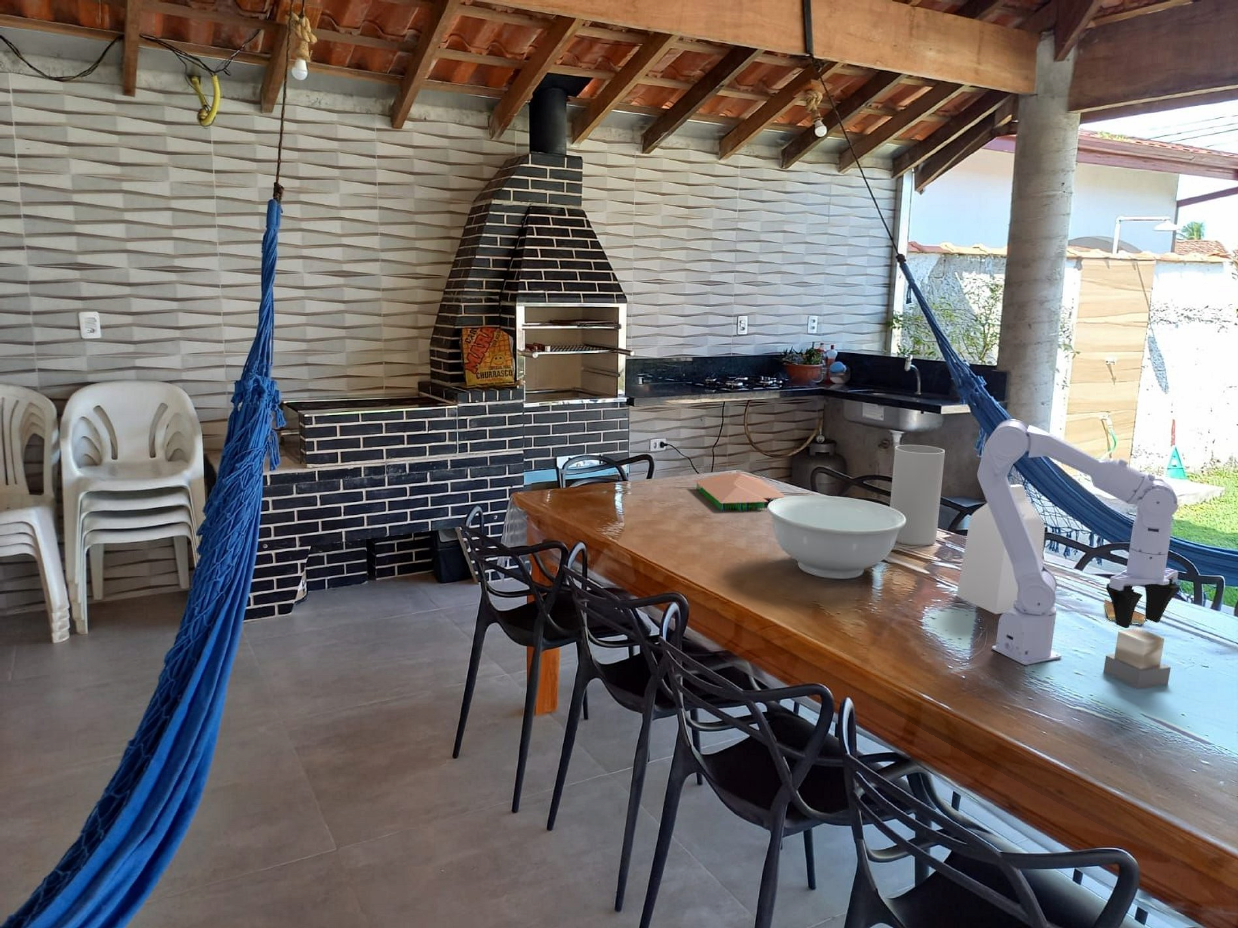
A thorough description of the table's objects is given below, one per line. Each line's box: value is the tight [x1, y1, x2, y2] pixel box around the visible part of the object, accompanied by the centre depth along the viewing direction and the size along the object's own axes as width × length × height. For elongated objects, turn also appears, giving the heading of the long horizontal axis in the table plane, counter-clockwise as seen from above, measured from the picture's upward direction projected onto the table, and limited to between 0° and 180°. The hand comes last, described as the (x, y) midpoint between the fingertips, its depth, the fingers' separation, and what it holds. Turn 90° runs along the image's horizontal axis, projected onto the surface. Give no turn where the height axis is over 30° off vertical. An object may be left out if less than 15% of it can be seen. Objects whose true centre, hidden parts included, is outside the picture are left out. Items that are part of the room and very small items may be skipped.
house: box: [693, 472, 788, 512], centre depth 277 cm, size 23×33×8 cm
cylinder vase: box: [889, 444, 946, 547], centre depth 233 cm, size 12×12×25 cm
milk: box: [956, 483, 1046, 615], centre depth 187 cm, size 12×12×26 cm
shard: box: [1104, 599, 1146, 625], centre depth 184 cm, size 11×8×2 cm
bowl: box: [767, 495, 906, 580], centre depth 208 cm, size 32×32×15 cm
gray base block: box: [1103, 653, 1172, 690], centre depth 153 cm, size 7×7×4 cm
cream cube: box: [1114, 627, 1165, 669], centre depth 153 cm, size 5×5×5 cm
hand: (1137, 623), depth 154 cm, fingers open, 7 cm apart
